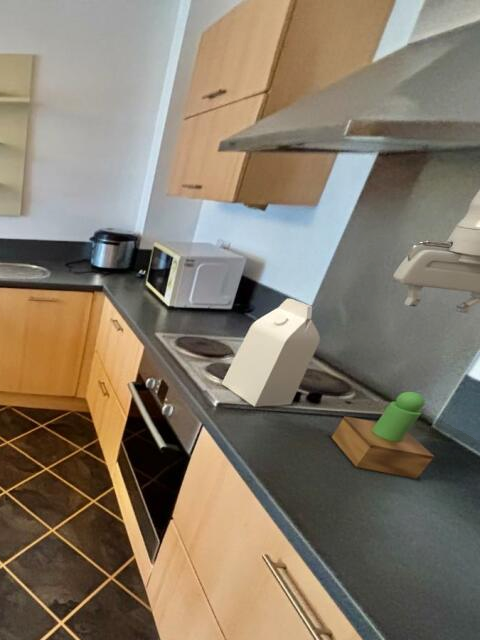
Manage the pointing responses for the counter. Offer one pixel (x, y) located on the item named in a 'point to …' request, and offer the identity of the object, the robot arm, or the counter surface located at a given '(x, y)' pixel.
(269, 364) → the milk
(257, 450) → the counter surface
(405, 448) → the oak block
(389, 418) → the toy
